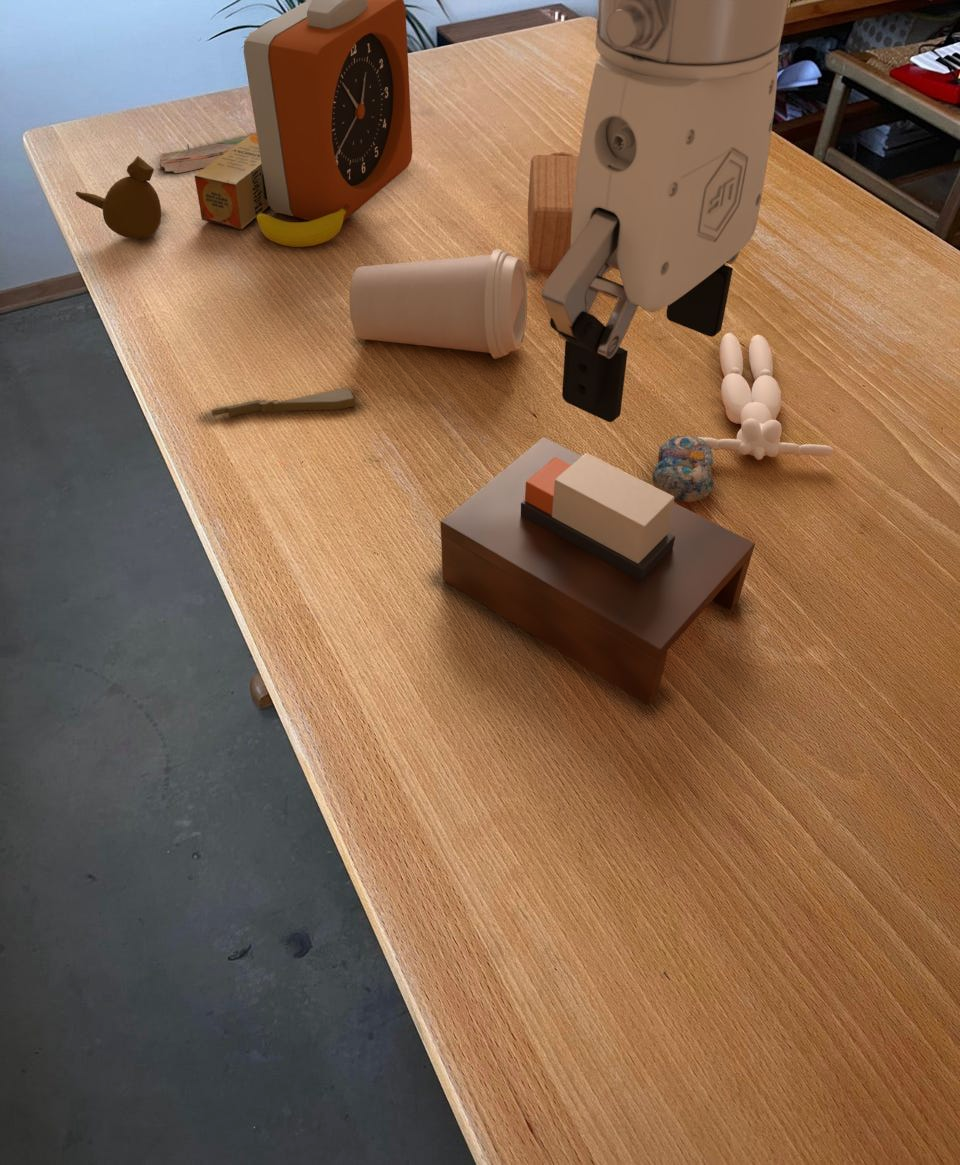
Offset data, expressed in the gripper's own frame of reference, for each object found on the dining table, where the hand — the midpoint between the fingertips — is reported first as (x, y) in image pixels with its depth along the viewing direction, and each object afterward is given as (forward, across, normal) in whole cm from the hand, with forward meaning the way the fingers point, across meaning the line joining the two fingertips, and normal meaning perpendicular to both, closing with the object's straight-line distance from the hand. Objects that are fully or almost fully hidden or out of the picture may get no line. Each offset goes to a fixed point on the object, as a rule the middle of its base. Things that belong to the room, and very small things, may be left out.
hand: (644, 366), depth 53 cm
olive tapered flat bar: (+21, +4, +37) cm, 43 cm away
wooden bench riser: (+23, +4, +4) cm, 24 cm away
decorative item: (+19, +37, +31) cm, 52 cm away
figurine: (+18, +14, +70) cm, 73 cm away
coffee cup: (+19, +17, +40) cm, 47 cm away
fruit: (+21, +24, +56) cm, 64 cm away
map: (+22, +36, +79) cm, 90 cm away
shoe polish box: (+19, +33, +70) cm, 80 cm away
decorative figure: (+21, +38, +11) cm, 45 cm away
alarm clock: (+22, +36, +62) cm, 75 cm away
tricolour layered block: (+17, +3, +4) cm, 18 cm away
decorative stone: (+23, +18, +5) cm, 29 cm away
